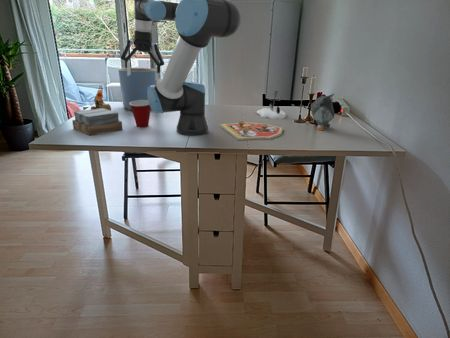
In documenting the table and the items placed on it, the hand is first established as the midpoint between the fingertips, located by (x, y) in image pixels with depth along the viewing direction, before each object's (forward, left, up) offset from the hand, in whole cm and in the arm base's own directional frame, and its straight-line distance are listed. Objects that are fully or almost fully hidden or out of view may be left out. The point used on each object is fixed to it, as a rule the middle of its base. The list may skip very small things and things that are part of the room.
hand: (142, 77), depth 148 cm
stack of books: (+5, +23, -23) cm, 33 cm away
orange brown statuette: (+28, +8, -23) cm, 37 cm away
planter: (+37, -22, -23) cm, 49 cm away
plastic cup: (-3, +4, -23) cm, 24 cm away
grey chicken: (-67, -63, -23) cm, 95 cm away
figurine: (-31, -71, -23) cm, 81 cm away
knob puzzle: (-47, -32, -24) cm, 62 cm away
